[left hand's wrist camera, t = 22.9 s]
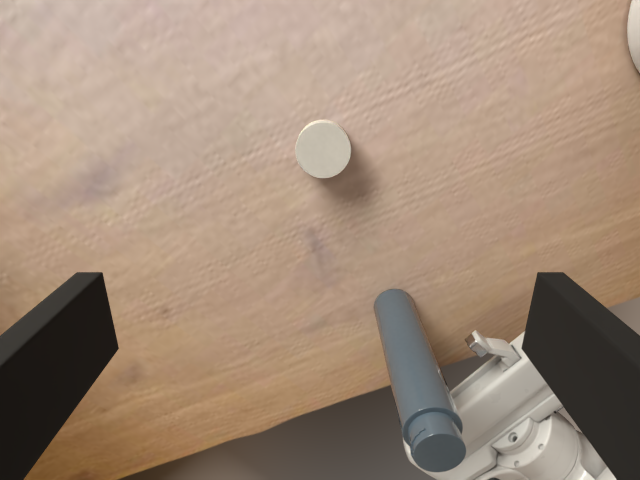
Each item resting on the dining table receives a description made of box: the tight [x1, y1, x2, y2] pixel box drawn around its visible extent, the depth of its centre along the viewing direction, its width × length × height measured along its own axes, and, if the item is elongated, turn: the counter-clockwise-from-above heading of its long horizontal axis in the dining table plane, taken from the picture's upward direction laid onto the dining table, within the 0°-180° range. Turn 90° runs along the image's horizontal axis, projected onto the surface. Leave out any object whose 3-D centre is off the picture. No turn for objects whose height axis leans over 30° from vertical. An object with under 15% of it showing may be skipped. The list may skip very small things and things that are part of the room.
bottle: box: [374, 289, 466, 472], centre depth 38 cm, size 4×4×20 cm
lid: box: [295, 120, 351, 178], centre depth 40 cm, size 5×5×2 cm
